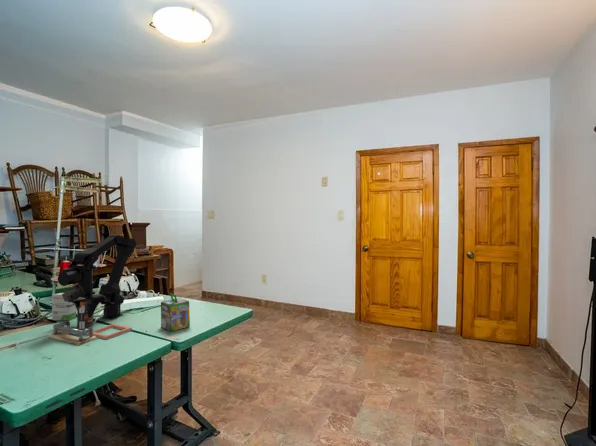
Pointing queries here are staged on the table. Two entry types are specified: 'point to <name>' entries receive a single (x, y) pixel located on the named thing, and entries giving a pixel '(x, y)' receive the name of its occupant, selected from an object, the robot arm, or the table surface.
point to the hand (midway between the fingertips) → (85, 316)
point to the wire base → (71, 338)
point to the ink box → (62, 308)
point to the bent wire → (72, 329)
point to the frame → (102, 336)
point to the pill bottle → (83, 317)
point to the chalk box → (175, 314)
